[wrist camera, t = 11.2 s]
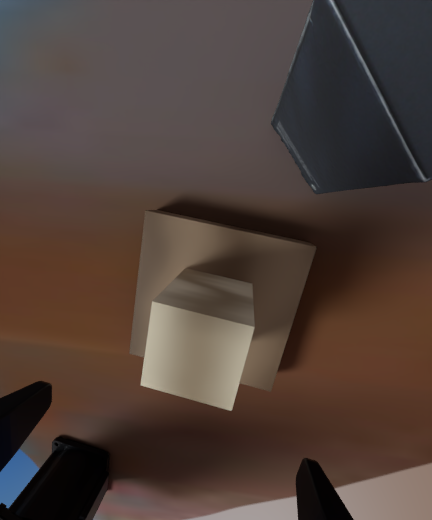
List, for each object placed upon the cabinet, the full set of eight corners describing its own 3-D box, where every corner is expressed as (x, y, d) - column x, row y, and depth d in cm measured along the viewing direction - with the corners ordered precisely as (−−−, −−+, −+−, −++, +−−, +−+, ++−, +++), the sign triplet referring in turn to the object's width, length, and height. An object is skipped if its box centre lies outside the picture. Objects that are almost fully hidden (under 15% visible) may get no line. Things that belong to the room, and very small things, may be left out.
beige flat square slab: (140, 339, 21) (129, 353, 19) (156, 209, 18) (145, 210, 16) (268, 373, 20) (270, 391, 18) (309, 242, 17) (316, 247, 15)
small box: (316, 201, 16) (425, 197, 6) (267, 121, 16) (302, -30, 6) (476, 98, 14) (1094, -189, 4) (427, -5, 13) (1034, -711, 3)
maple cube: (175, 327, 18) (140, 385, 12) (185, 267, 17) (152, 301, 11) (237, 343, 18) (231, 411, 12) (252, 283, 16) (254, 327, 11)
